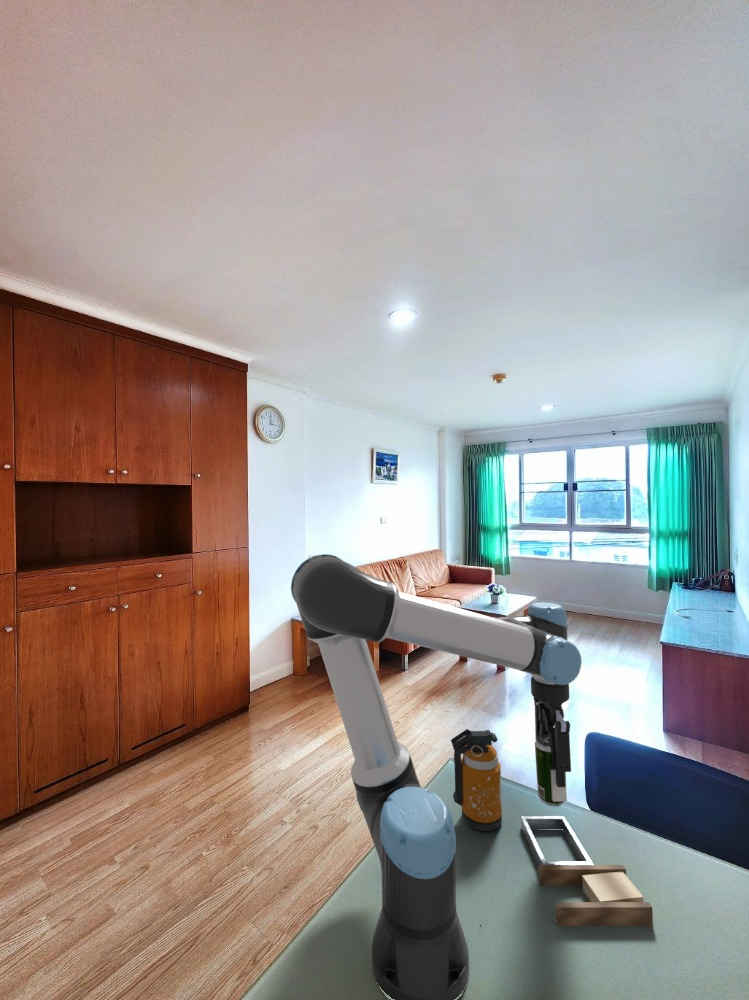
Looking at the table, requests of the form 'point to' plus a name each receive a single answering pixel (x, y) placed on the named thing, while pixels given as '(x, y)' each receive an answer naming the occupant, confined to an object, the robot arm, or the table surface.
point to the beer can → (544, 770)
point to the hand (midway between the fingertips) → (553, 790)
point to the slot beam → (592, 910)
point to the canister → (478, 779)
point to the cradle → (552, 823)
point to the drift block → (610, 888)
